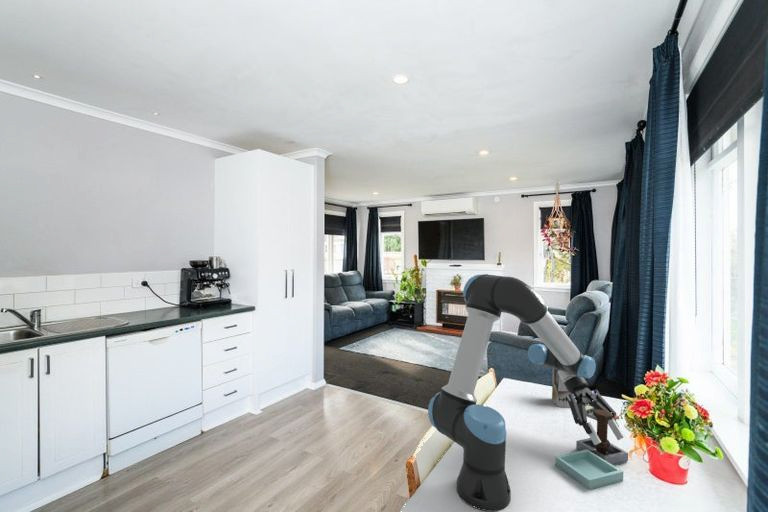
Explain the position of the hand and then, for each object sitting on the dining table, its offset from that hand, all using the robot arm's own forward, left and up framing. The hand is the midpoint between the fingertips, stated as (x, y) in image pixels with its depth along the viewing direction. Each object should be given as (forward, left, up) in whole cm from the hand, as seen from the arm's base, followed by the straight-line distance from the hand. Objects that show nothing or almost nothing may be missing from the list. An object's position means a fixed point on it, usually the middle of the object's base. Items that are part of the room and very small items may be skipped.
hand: (609, 441), depth 123 cm
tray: (-13, -3, -6) cm, 15 cm away
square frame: (0, +3, -6) cm, 7 cm away
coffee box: (+21, +41, -7) cm, 47 cm away
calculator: (+27, +28, -7) cm, 40 cm away
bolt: (0, +3, -7) cm, 7 cm away
